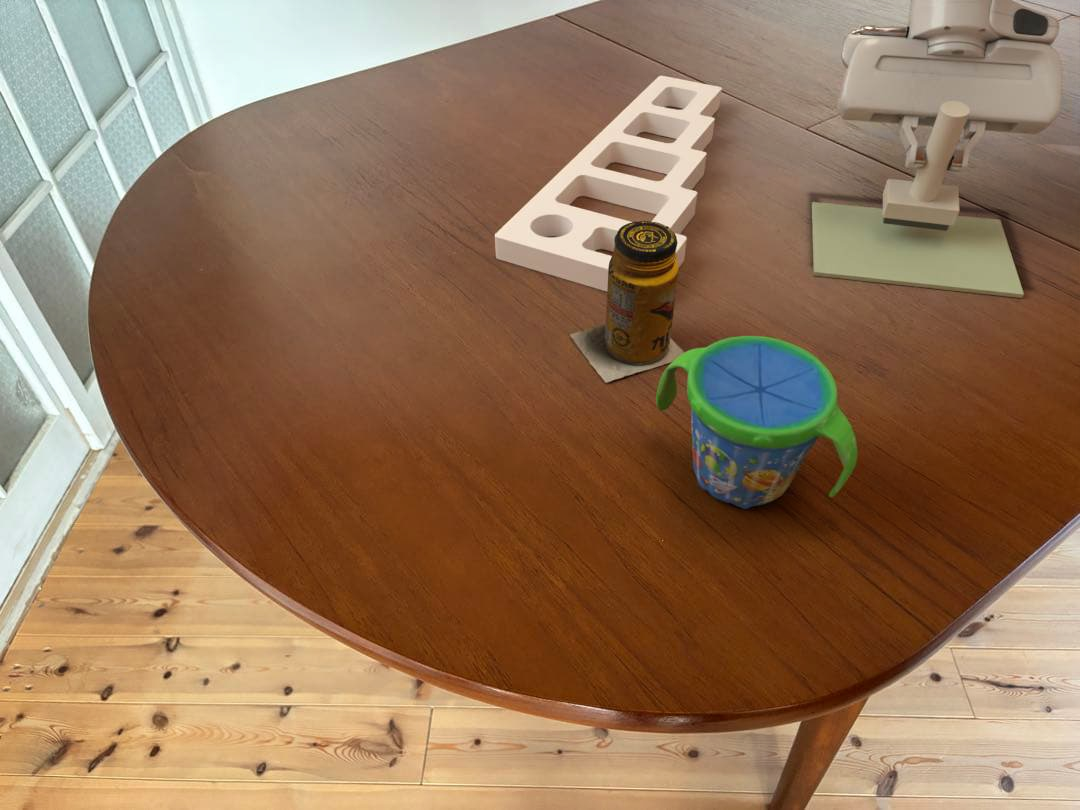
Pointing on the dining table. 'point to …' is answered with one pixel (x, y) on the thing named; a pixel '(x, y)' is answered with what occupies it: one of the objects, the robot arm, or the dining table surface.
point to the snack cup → (757, 416)
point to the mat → (912, 252)
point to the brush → (929, 178)
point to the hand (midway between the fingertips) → (935, 168)
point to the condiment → (636, 304)
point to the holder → (618, 185)
